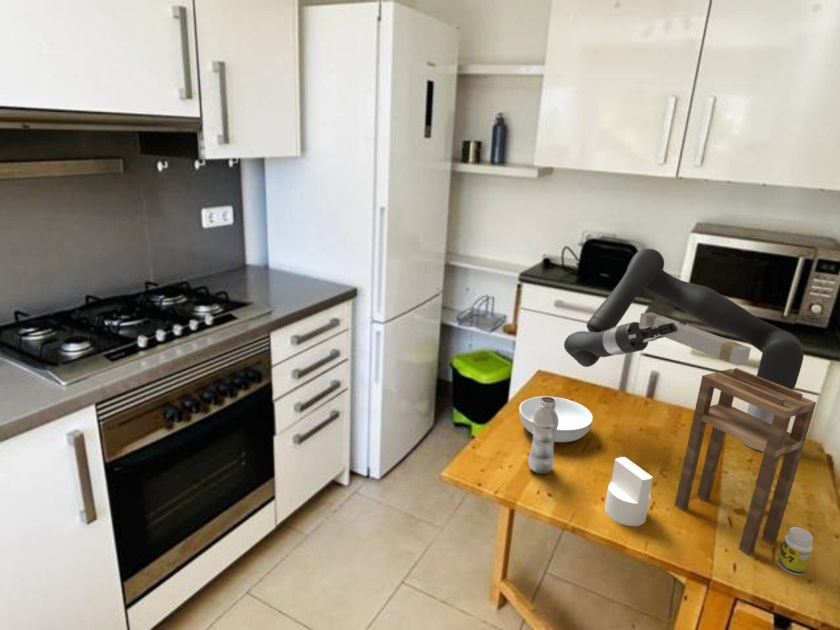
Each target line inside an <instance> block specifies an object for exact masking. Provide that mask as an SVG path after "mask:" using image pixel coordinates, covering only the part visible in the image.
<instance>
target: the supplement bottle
mask: <svg viewBox="0 0 840 630" xmlns="http://www.w3.org/2000/svg"><path fill="white" fill-rule="evenodd" d="M813 540H814V536H813V535H812V532H811V533H810V531H809V530H807V529H804V528H802V527H797V526H792V527H790V528H789V530H788V533H787V534H786V536H785V537H784V538H783V543H782V545H781V549H780V551H779V555H778V558H777V563H778V566H779V567H780V568H781V569H782V570H784V571H785V572H787V573H789V574H791V575H795V576H803V575H804V574H805V573H806V571H807V568H808V567H807V566H808V564H809V561H810V558H811V555H812V553H813V545H812V544H813Z"/></svg>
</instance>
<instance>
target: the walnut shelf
mask: <svg viewBox="0 0 840 630" xmlns="http://www.w3.org/2000/svg"><path fill="white" fill-rule="evenodd" d="M698 389H699V390H698V395H697V398H696V403H695V408H694V413H693V419H692V423H691V427H690V432H689V435H688V437H689V438H688V441H687V447H686V451H685V456H684V461H683V464H682V467H681V468H682V469H681V473H680V478H679V483H678V487H677V491H676V492H677V493H676V497H675V502H674V506H675V507H676V508H678V509H680V510H681V511H683V510H686V509H688V507H689V503H690V498H691V495H692V490H693V485H694V480H695V477H696V472H697V467H698V463H699V459H700V455H701V454H700V453H701V449H702V445H703V440H704V436H705V432H706V428H707V427H706V426H707V425H709V426H711V427H712V428H711V433H710V438H709V441H708V445H707V446H708V447H707V451H706V455H705V459H704V464H703V468H702V472H701V477H700V481H699V486H698V490H697V495H696V497H697V498H699V499H700V500H701V501H703V502H706V501H708V500H710V499H711V496H712V495H711V494H712V491H713V486H714V482H715V479H716V474H717V469H718V466H719V461H720V458H721V457H720V456H721V453H722V447H723V445H724V444H723V443H724V440H725V435H726V434H727V435H729V436H731V437H733V438H734V439H737V440H739V441H740V442H742V443H743V442H744V443H746V444H748V445H750V446H752V447H754V448H756V449H758V450H757V451H759V450H760V452H762V453H763V455H762V460H761V464H760V467H759V471H758V475H757V478H756V482H755V485H754V486H755V487H754V490H753V493H752V497H751V501H750V505H749V509H748V512H747V516H746V520H745V524H744V528H743V531H742V535H741V539H740V541H739V542H740V543H739V547H738V550H739V551H740V552H741V553H743V554H745V555H747V556H749V555H752V554H753V553H755V548H756V545H757V540H758V538H759V537H758V536H759V534H760V531H761V527H762V523H763V518H764V516H765V513H766V509H767V505H768V502H769V497H770V495H771V489H772V486H773V483H774V479H775V476H776V472H777V469H778V465H779V461H780V458H781V456H782V455H784V456H783V460H782V463H781V466H780V470H779V474H778V478H777V481H776V485H775V487H774V491H773V495H772V499H771V503H770V506H769V510H768V513H767V517H766V521H765V524H764V529H763V532H762V535H761V539H762V540H763V541H765V542H767V543H768V544H770V545H771V544H773V543H775V542H777V539H778V536H779V532H780V530H781V524H782V522H783V519H784V514H785V511H786V509H787V504H788V501H789V498H790V494H791V492H792V487H793V485H794V482H795V477H796V473H797V470H798V468H799V462H800V460H801V458H802V457H801V456H802V453H803V449H804V446H805V442H806V440H807V439H806V438H807V436H808V433H809V428H810V425H811V422H812V419H813V415H814V412H815V408H816V405H817V402H816V401H814V400H812V399H809V398H807V397H804V394H803V393H802V392H799V391H796V390H794V389H793V390H791V389H789V388H786V387H784V386H781V385H779V384H776V383H774V382H771V381H768V380H766V379H763V378H761V377H758V376H757V374H756V375H755V374H753V373H750V372H748V371H745V370H742V369H740V368H738V367H735V368H727V369H723V370H720V371H716V372H712V373H708V374H704V375H702V376H701V380H700V385H699V388H698ZM715 389H716V390H719V391H720V393H719V394H720V395H719V398H718V399H719V400H718V402H717V404H714V405H713V404H712V400H713V396H714V392H715ZM734 397H735V398H737V399H738V400H741V401H744V402H745V403H747V404H749V403H750V404H752V405H754V406H757V407H759V408H761V409H763V410H766V411H768V412H770V413H772V414H774V417H773V421H772V424H769V423H767V422H765V421H763V420H761V419H758V418H756V417H754V416H752V415H750V414H748V413H747V412H745V411H743V410H741V409H738V408H736V407H734V406H733V402H734ZM711 404H712V405H711ZM792 417H794V420H793V424H792V427H791V431H790V432H788V428H789V425H790V421H791V418H792ZM744 443H743V444H744ZM756 449H755V450H756Z"/></svg>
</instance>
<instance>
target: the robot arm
mask: <svg viewBox="0 0 840 630" xmlns="http://www.w3.org/2000/svg"><path fill="white" fill-rule="evenodd" d="M664 268H665V259H664V257H663V255H662V253H660V251H658V250H656V249H653V248H643V249H641V250H639V251H637V252H636V253H635V254H634V255H633V256H632V258H631V260H630V261H629V263H628V265H627V267H626V272H625V273H624V274H623V276H622V278H621V280H620V281H619V282H618V284H617V285H616V286H615V288H614V289H613V290H612V291H611V292H610V294H609V295H608V296H607V297H606V298H605V300H604V301H603V302H602V303H601V304H600V305H599V306H598V308H596V311H594V313H593V315H592V316H591V317H590V318H589V319H588V321H587V323H586V328H587V330H588V331H586V330H585V331H583V330H581V331H580V330H579V331H576V332H572V333H571V334H569V335H568V336H567V337H566V338H565V340H564V343H563V348H564V350H565V351H566V352H567V354H568V355H570V357H572V358H573V359H574V360H575V361H576V362H577V363H578V364H579V365H581V366H582V367H585V368H588V367H589V368H590V367H591V366H592V367H593V365H595V364H596V363H597V362H598V361H599V360H600V358H607V357H612V356H618V355H619V356H620V355H627V354H631V353H637V352H640V351H643V350H645V349H646V348H647V347H648V345H649V342H653V341H654V342H655V341H657V340H658V339H662V338H663V339H664V338H665V337H663V336H661V335H664V334H668V333H672V332H675V331H676V329H675V324H674V323H669V324H665V325H661V326H657V325H656V326H655V327H653V326H647V327H639V322H638V321H632V322H629V323H625V324H621V325H618V324H619V323H620V321H621V320H622V319H623V317H624V316H625V314H626V312H627V311H628V310H629V308H630V307H631V305H632V304H633V302H634V300H635V299H636V298H637V296H638V295H639V294H640V293H641V292H642V290H643V289H644V290H646V291H648V292H650V293H652V294H655V295H657V296H658V297H660V298H662V299H664V300H666V301H667V302H669V303H670V304H672V305H674V306H675V307H677V308H678V309H680V310H682V311H683V312H685V313H687V314H688V315H690V316H691V317H693V318H694V319H696V320H698V321H700V322H702V323H703V324H705V325H706V326H708V327H710V328H712V329H713V330H716V331H720V332H723V333H725V334H729V335H731V336H735V337H737V338H740V339H741V340H743V341H745V342H746V343H748V344H750V346H752V347H753V348H756V349H757V350H758V351H760V352H761V358H760V362H759V366H758V369H757V373H756V376H758V377H761V378H763V379H766V380H768V381H771V382H774V383H776V384H779V385H781V386H784V387H786V388H789V389H791V390H794V389H795V387H796V385H797V382H798V379H799V376H800V372H801V369H802V365H803V361H804V356H805V355H804V350H803V346H802V343H801V341H800V339H799V338H798V337H797V336H796V335H795V334H793V333H790V332H788V331H787V330H784V329H782V328H779V327H778V326H776V325H773V324H771V323H768V322H767V321H764V320H762V319H761V318H759V317H757V316H756V315H754V314H753V313H752V312H750V311H748V310H746V309H745V308H744V307H742V305H741V306H740V305H739V304H737V303H736V302H734V301H733V300H731V299H730V298H728V297H726V296H724V295H723V294H721V293H719V292H718V291H715V290H714V289H713V288H710V287H707V286H703V285H700V284H696V283H691V282H688V281H684V280H681V279H678V278H677V277H675V276H673V275H671V274H670V273H668V272H666V271H665V270H664ZM679 322H680V323H683V324H686V325H688V324H687V322H686V320H681V321H679ZM617 325H618V326H617ZM746 413H748V414H750V415H752V416H754V417H756V418H758V419H761V420H763V421H765V422H767V423H769V424H772V421H773V417H774V414H772V413H770V412H768V411H766V410H763V409H761V408H759V407H757V406H754V405H752V404H750V403H748V407H747V410H746ZM742 444H743V445H745V446H747V447H748V448H750V449H753V450H755V451H756V450H757V451H760V450H758V449H756V448H754V447H752V446H750V445H748V444H746V443H744V442H742ZM760 452H761V451H760Z"/></svg>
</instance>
